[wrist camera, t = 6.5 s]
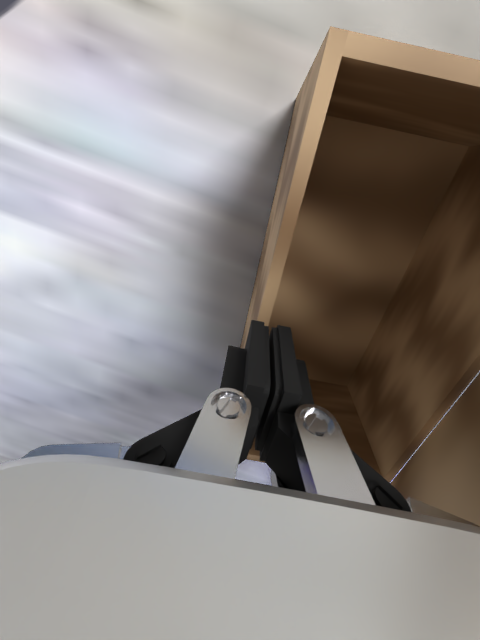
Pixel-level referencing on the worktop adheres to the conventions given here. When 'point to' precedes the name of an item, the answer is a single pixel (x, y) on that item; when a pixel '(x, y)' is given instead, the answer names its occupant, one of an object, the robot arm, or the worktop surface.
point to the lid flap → (449, 462)
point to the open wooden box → (379, 240)
